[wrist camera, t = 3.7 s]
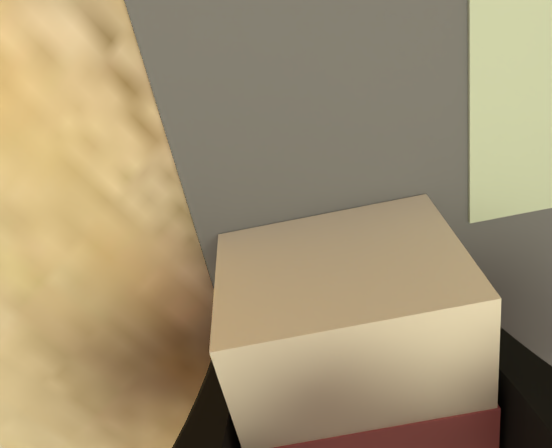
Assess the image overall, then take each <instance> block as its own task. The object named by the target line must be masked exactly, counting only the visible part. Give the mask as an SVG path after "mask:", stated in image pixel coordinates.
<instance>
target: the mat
mask: <svg viewBox="0 0 552 448" xmlns="http://www.w3.org/2000/svg"><path fill="white" fill-rule="evenodd" d="M124 1H125V4H126V7H127V11H128V14H129V17H130V20H131V24H132V27H133V30H134V33H135V36H136V40H137V43H138V46H139V49H140V53H141V56H142V59H143V62H144V65H145V69H146V72H147V75H148V78H149V82H150V85H151V88H152V91H153V94H154V98H155V101H156V104H157V107H158V111H159V114H160V117H161V120H162V123H163V127H164V130H165V133H166V136H167V140H168V143H169V146H170V149H171V152H172V156H173V159H174V162H175V165H176V169H177V172H178V175H179V178H180V181H181V185H182V188H183V191H184V194H185V198H186V201H187V204H188V207H189V210H190V214H191V217H192V220H193V223H194V227H195V230H196V233H197V236H198V239H199V243H200V246H201V249H202V252H203V256H204V259H205V262H206V265H207V268H208V272H209V275H210V278H211V281H212V285H213V288H214V283H215V270H216V257H217V244H218V234H223V233H228V232H233V231H238V230H243V229H248V228H254V227H259V226H264V225H269V224H274V223H279V222H284V221H290V220H295V219H300V218H305V217H310V216H315V215H320V214H325V213H331V212H336V211H341V210H346V209H351V208H356V207H361V206H367V205H372V204H377V203H382V202H387V201H392V200H397V199H403V198H408V197H413V196H418V195H423V194H427V196H428V197H429V198H430V200H431V201H432V203H433V204H434V205H435V207H436V208H437V210H438V211H439V212H440V214H441V215H442V217H443V218H444V219H445V221H446V222H447V223H448V225H449V226H450V228H451V229H452V230H453V232H454V233H455V235H456V236H457V237H458V239H459V240H460V242H461V243H462V244H463V246H464V247H465V248H466V250H467V251H468V253H469V254H470V255H471V257H472V258H473V260H474V261H475V262H476V264H477V265H478V267H479V268H480V269H481V271H482V272H483V274H484V275H485V276H486V278H487V279H488V280H489V282H490V283H491V285H492V286H493V287H494V289H495V290H496V292H497V293H498V294H499V296H500V297H501V325H500V326H501V327H502V328H503V329H504V330H505V331H507V332H508V333H509V334H510V335H512V336H513V337H514V338H515V339H517V340H518V341H519V342H520V343H522V344H523V345H524V346H525V347H527V348H528V349H529V350H531V351H532V352H533V353H535V354H536V355H537V356H539V357H540V358H541V359H543V360H544V361H545V362H547V363H548V364H549V365H551V366H552V0H124Z"/></svg>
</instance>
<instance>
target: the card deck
mask: <svg viewBox="0 0 552 448" xmlns="http://www.w3.org/2000/svg"><path fill="white" fill-rule="evenodd" d="M500 325H501V297H500V296H499V294H498V293H497V292H496V290H495V289H494V287H493V286H492V285H491V283H490V282H489V280H488V279H487V278H486V276H485V275H484V274H483V272H482V271H481V269H480V268H479V267H478V265H477V264H476V262H475V261H474V260H473V258H472V257H471V255H470V254H469V253H468V251H467V250H466V248H465V247H464V246H463V244H462V243H461V242H460V240H459V239H458V237H457V236H456V235H455V233H454V232H453V230H452V229H451V228H450V226H449V225H448V223H447V222H446V221H445V219H444V218H443V217H442V215H441V214H440V212H439V211H438V210H437V208H436V207H435V205H434V204H433V203H432V201H431V200H430V198H429V197H428V196H427V194H423V195H418V196H413V197H408V198H403V199H397V200H392V201H387V202H382V203H377V204H372V205H367V206H361V207H356V208H351V209H346V210H341V211H336V212H331V213H325V214H320V215H315V216H310V217H305V218H300V219H295V220H290V221H284V222H279V223H274V224H269V225H264V226H259V227H254V228H248V229H243V230H238V231H233V232H228V233H223V234H218V244H217V257H216V270H215V283H214V296H213V309H212V322H211V335H210V348H209V354H210V357H211V360H212V362H213V365H214V368H215V371H216V374H217V377H218V380H219V383H220V386H221V389H222V392H223V395H224V398H225V400H226V403H227V406H228V409H229V412H230V415H231V418H232V421H233V424H234V427H235V430H236V433H237V435H238V438H239V441H240V444H241V448H499V437H500V413H501V408H500V407H499V405H498V379H499V352H500Z"/></svg>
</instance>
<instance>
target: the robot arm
mask: <svg viewBox="0 0 552 448" xmlns="http://www.w3.org/2000/svg"><path fill="white" fill-rule="evenodd" d="M498 405H499V407H500V408H501V413H500V437H499V448H552V366H551V365H549V364H548V363H547V362H545V361H544V360H543V359H541V358H540V357H539V356H537V355H536V354H535V353H533V352H532V351H531V350H529V349H528V348H527V347H525V346H524V345H523V344H522V343H520V342H519V341H518V340H517V339H515V338H514V337H513V336H512V335H510V334H509V333H508V332H507V331H505V330H504V329H503V328H502V327H501V326H500V352H499V379H498ZM172 448H241V444H240V441H239V438H238V435H237V433H236V430H235V427H234V424H233V421H232V418H231V415H230V412H229V409H228V406H227V403H226V400H225V398H224V395H223V392H222V389H221V386H220V383H219V380H218V377H217V374H216V371H215V368H214V365H213V362H212V360H211V363H210V365H209V368H208V371H207V373H206V376H205V379H204V381H203V384H202V386H201V388H200V391H199V393H198V396H197V398H196V400H195V402H194V405H193V407H192V409H191V411H190V413H189V416H188V418H187V420H186V422H185V424H184V426H183V428H182V430H181V432H180V434H179V436H178V438H177V440H176V442H175V444H174V445H173V447H172Z"/></svg>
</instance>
